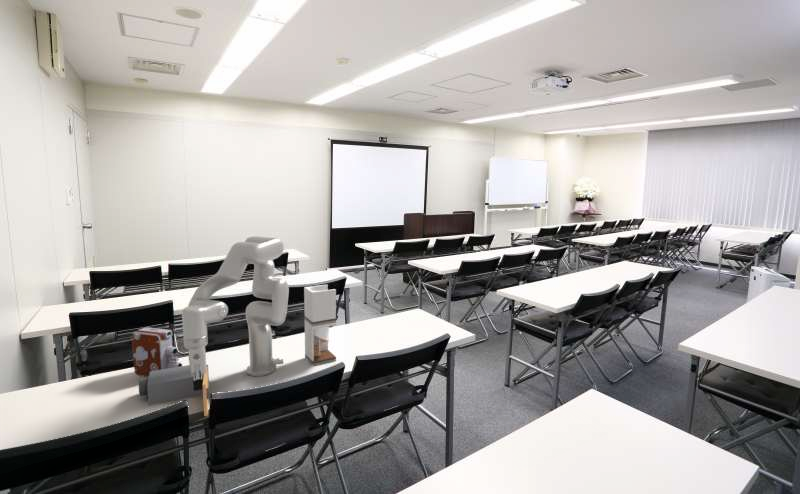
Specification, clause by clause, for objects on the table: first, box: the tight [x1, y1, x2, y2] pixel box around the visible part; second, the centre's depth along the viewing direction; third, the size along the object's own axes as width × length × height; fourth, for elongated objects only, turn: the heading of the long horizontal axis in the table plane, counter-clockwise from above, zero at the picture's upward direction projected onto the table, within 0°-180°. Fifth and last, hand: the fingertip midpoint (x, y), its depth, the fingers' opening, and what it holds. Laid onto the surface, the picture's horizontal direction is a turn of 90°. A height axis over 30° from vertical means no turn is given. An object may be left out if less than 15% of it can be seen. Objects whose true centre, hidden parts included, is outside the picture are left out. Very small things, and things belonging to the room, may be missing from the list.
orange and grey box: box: [138, 364, 204, 406], centre depth 156 cm, size 23×12×8 cm, turn 118°
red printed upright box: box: [131, 326, 183, 378], centre depth 170 cm, size 9×19×20 cm, turn 78°
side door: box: [202, 364, 211, 417], centre depth 148 cm, size 17×2×12 cm, turn 23°
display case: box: [303, 284, 337, 367], centre depth 188 cm, size 11×11×35 cm
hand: (198, 388), depth 143 cm, fingers closed
